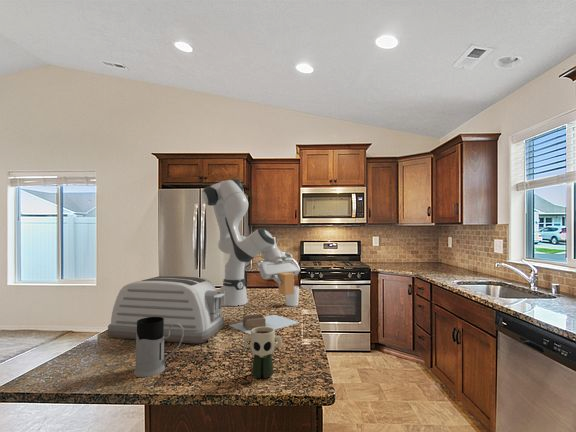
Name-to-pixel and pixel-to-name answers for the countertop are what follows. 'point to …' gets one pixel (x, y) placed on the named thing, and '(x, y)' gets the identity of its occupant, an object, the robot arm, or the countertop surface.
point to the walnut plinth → (253, 321)
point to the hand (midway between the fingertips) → (287, 283)
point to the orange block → (286, 283)
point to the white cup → (293, 297)
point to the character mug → (262, 350)
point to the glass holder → (151, 346)
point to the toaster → (169, 308)
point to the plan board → (269, 323)
